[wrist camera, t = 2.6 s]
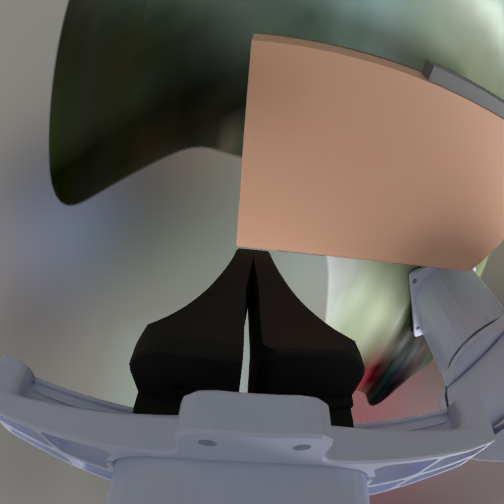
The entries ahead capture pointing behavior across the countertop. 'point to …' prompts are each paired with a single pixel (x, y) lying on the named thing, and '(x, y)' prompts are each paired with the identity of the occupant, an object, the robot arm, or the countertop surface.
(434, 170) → the lid
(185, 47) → the countertop surface
